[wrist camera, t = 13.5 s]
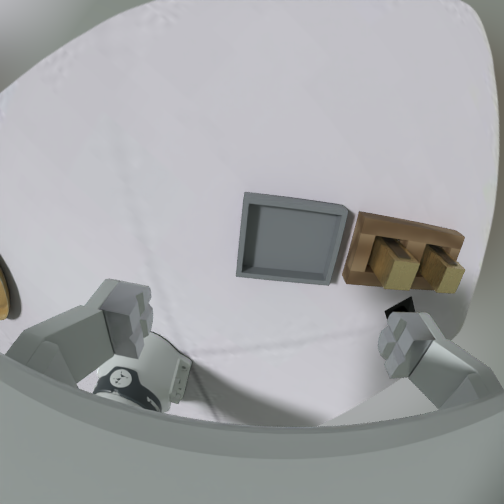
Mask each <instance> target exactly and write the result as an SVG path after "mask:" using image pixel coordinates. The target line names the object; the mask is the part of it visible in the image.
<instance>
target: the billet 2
mask: <svg viewBox="0 0 504 504" xmlns="http://www.w3.org/2000/svg"><path fill="white" fill-rule="evenodd" d="M418 271H419V272H420V273H421V274H422V276H423V277H424V278H425V279H426V280H427V282H428V283H429V284H430V285H431V286H432V288H433V289H434V290H435V291H436V293H455V292H456V290H457V287H458V285H459V283H460V281H461V279H462V276H463V274H464V272H465V269H464V268H463V267H462V266H461V265H460V264H459V263H458V262H457V261H456V260H455V259H454V258H453V257H452V256H450V255H449V254H448V253H447V252H446V251H445V250H444V249H443V248H442V247H441V246H437V245H432V244H426V247H425V249H424V252H423V255H422V258H421V260H420V265H419V268H418Z"/></svg>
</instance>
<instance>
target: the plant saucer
mask: <svg viewBox="0 0 504 504" xmlns="http://www.w3.org/2000/svg"><path fill="white" fill-rule="evenodd" d="M9 308H10V298H9V291H8V286H7V283H6V280H5V277H4V274H3V272H2V269H1V267H0V320H4V319H6V318H7V316H8V313H9Z"/></svg>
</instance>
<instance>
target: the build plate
mask: <svg viewBox="0 0 504 504" xmlns="http://www.w3.org/2000/svg"><path fill="white" fill-rule="evenodd" d="M392 312H415V310H414V305H413V300H412V297H409V298H407V299H406V300H404V301H402V302H400V303H398V304H397V305H395V306H393V307H391V308H389V309H387V310H386V311H385V314H386V318H387V319H388V317H389V315H390V314H391V313H392Z"/></svg>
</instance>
